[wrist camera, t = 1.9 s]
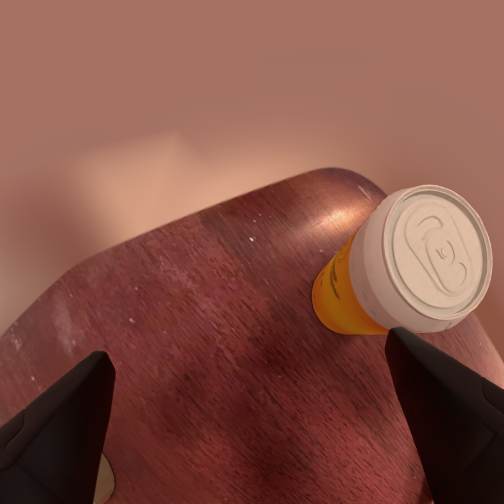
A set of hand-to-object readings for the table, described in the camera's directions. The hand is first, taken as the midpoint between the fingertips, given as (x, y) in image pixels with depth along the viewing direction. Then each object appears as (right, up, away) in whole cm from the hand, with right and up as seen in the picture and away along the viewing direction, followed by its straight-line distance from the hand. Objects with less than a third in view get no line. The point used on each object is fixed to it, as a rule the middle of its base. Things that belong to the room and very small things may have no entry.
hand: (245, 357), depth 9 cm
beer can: (+8, -1, +16) cm, 18 cm away
